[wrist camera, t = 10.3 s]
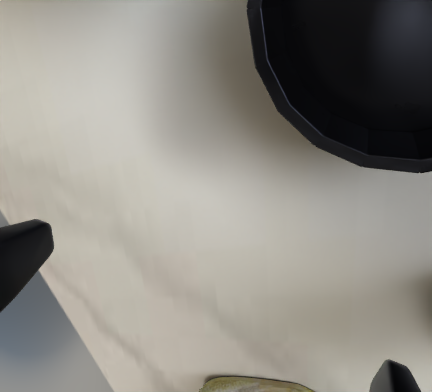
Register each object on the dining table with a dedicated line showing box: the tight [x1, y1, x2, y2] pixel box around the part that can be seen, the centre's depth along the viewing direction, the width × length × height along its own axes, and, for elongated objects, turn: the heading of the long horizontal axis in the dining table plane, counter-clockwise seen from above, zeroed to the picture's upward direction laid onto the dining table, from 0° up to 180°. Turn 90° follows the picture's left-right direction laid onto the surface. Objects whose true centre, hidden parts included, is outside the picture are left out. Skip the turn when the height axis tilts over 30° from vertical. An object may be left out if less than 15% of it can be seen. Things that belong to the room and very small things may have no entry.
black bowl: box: [247, 0, 432, 173], centre depth 13 cm, size 12×12×4 cm
